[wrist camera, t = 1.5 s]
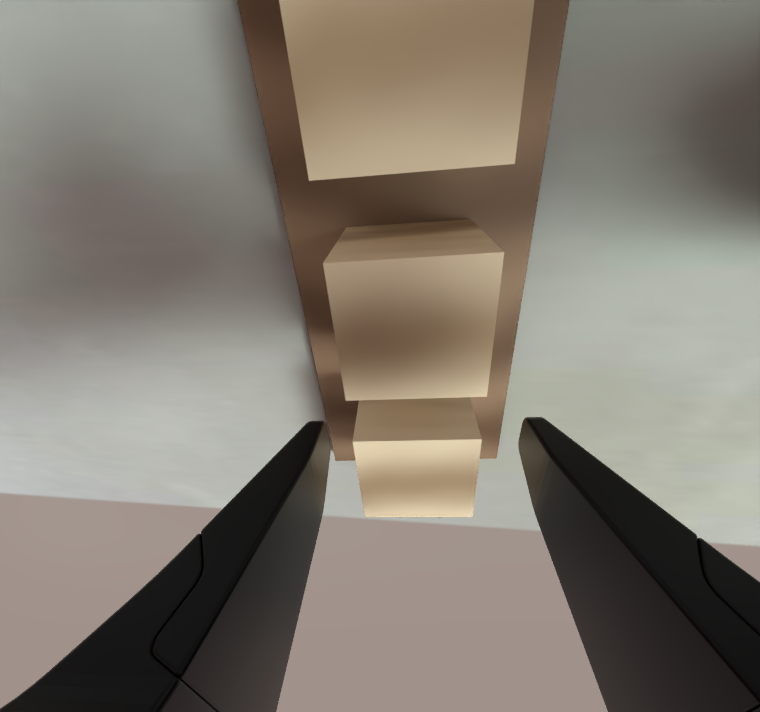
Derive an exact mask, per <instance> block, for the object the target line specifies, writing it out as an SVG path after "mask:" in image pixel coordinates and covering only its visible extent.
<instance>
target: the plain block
mask: <svg viewBox="0 0 760 712" xmlns="http://www.w3.org/2000/svg"><path fill="white" fill-rule="evenodd" d="M503 259H504V251H503V250H502V249H501V248H500V247H499V246H498V245H497V244H496V243H495V242H494V241H493V240H492V239H491V238H490V237H489V236H487V235H486V234H485V233H484V232H483V231H482V230H481V229H480V228H479V227H478V226H477V225H476V224H475V223H474V222H473V221H472V220H471V219H460V220H446V221H432V222H418V223H404V224H389V225H375V226H361V227H347V228H346V229H345V230H344V232H343V233H342V235H341V236H340V238H339V240H338V241H337V243H336V244H335V246H334V247H333V249H332V250H331V252H330V253H329V255H328V256H327V258H326V259H325V261H324V262H323V267H324V273H325V279H326V285H327V291H328V297H329V303H330V309H331V315H332V321H333V327H334V333H335V339H336V345H337V351H338V357H339V363H340V369H341V375H342V381H343V387H344V393H345V399H346V401H354V400H390V399H425V398H460V397H487V392H488V384H489V376H490V368H491V359H492V351H493V343H494V334H495V326H496V318H497V309H498V301H499V293H500V284H501V276H502V268H503Z"/></svg>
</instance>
